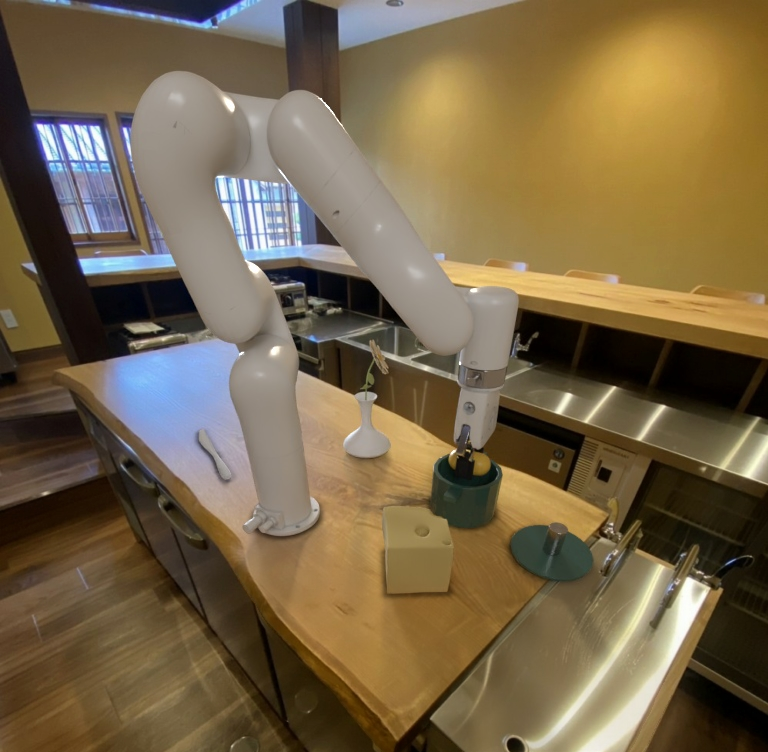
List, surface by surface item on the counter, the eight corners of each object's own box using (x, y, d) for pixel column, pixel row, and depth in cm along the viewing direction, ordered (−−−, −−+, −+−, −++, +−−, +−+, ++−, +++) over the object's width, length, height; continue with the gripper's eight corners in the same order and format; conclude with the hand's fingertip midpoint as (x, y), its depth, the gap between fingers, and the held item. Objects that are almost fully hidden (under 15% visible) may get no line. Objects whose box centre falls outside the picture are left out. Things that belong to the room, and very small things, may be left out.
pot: (505, 493, 88) (513, 456, 83) (478, 544, 76) (485, 504, 70) (448, 477, 93) (453, 441, 87) (414, 523, 80) (416, 484, 75)
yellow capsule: (491, 471, 79) (495, 452, 76) (484, 482, 76) (488, 462, 74) (452, 461, 82) (454, 442, 79) (444, 471, 79) (446, 452, 76)
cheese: (440, 549, 75) (446, 503, 69) (450, 596, 66) (457, 549, 60) (382, 550, 74) (382, 504, 68) (383, 597, 66) (384, 550, 60)
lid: (596, 543, 76) (607, 517, 72) (585, 595, 67) (597, 567, 63) (520, 521, 81) (527, 495, 77) (500, 565, 72) (506, 538, 68)
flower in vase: (378, 467, 96) (377, 355, 81) (334, 456, 100) (326, 347, 84) (400, 442, 105) (404, 337, 90) (360, 433, 109) (356, 331, 94)
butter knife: (219, 480, 90) (232, 475, 92) (194, 431, 109) (206, 427, 110) (219, 482, 91) (233, 478, 92) (195, 433, 109) (206, 429, 110)
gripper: (488, 397, 60) (472, 500, 72) (518, 362, 72) (500, 455, 83) (440, 387, 63) (431, 488, 75) (475, 355, 75) (464, 446, 86)
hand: (468, 470), depth 79 cm, fingers closed on yellow capsule, 4 cm apart
